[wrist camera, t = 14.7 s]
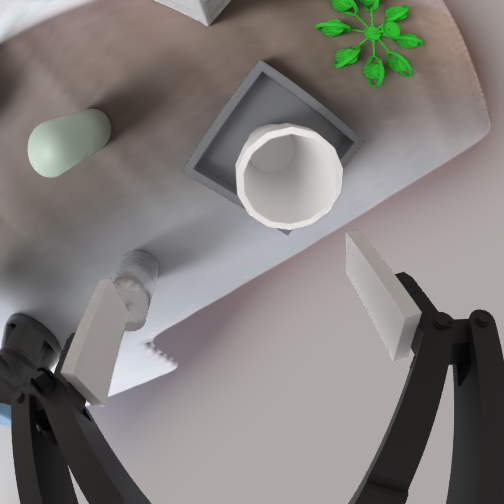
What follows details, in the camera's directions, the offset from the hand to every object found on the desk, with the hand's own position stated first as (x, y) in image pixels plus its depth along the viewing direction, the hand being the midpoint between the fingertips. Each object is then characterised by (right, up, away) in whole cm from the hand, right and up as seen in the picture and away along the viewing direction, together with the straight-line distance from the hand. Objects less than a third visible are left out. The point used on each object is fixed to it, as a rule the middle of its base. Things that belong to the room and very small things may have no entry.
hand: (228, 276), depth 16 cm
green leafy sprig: (+16, +30, +13) cm, 36 cm away
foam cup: (+4, +14, +20) cm, 25 cm away
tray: (+4, +15, +21) cm, 26 cm away
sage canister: (-20, +17, +17) cm, 31 cm away
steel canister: (-16, -1, +29) cm, 33 cm away
